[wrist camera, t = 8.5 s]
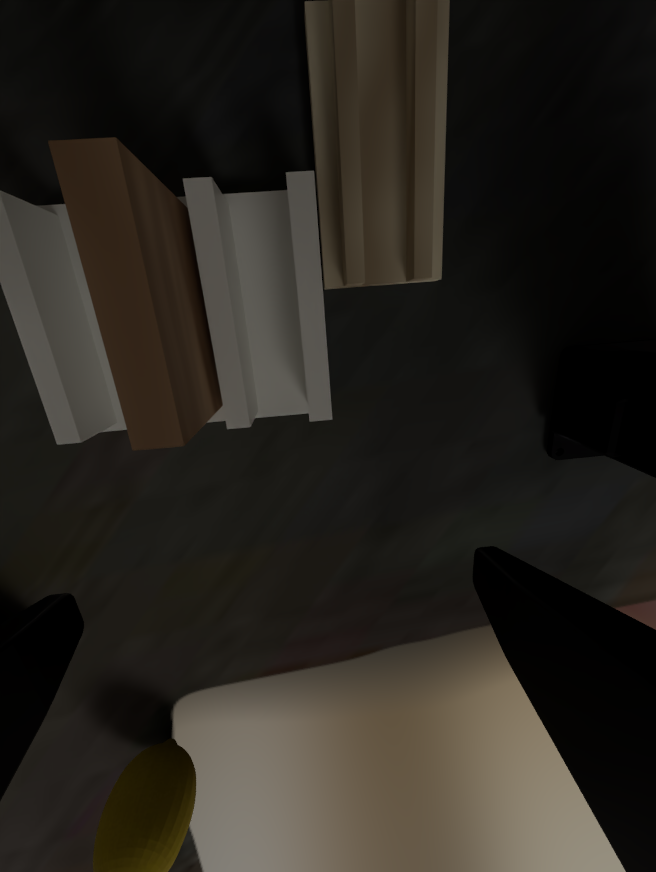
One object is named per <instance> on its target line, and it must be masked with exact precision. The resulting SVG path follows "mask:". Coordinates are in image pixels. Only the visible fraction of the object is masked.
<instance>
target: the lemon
mask: <svg viewBox="0 0 656 872" xmlns="http://www.w3.org/2000/svg"><path fill="white" fill-rule="evenodd" d="M195 796H196V772H195V768H194V765H193V762H192V760H191V757H190V756H189V754H188V753H187V752H186V751H185V750H184V749H183V748H182V747H180V746H179V745H177V743H176V741H175V739H168V740H166V741H165V742H163V743H159V744H156V745H153V746H151V747H149V748H147V749H145V750H144V751H142V752H141V753H140V754H139V755H137V756H136V757H135V758H134V759H133V760H132V761H131V762H130V763H129V764H128V766H127V767H126V768H125V769H124V771H123V772H122V774H121V775H120V777H119V779H118V780H117V782H116V784H115V786H114V788H113V790H112V792H111V794H110V796H109V798H108V800H107V802H106V805H105V807H104V810H103V813H102V816H101V819H100V822H99V826H98V830H97V835H96V839H95V845H94V855H93V870H94V872H168V871H169V869H170V868H171V866H172V864H173V863H174V861H175V859H176V857H177V855H178V852H179V850H180V848H181V845H182V843H183V841H184V838H185V836H186V833H187V830H188V827H189V824H190V821H191V817H192V813H193V809H194V804H195Z"/></svg>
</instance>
